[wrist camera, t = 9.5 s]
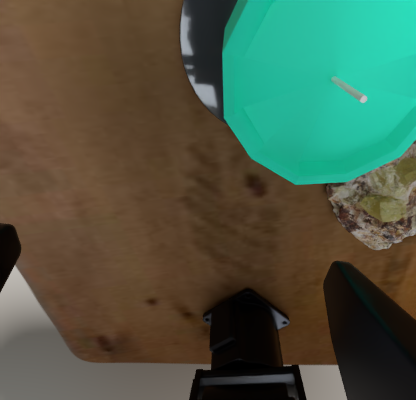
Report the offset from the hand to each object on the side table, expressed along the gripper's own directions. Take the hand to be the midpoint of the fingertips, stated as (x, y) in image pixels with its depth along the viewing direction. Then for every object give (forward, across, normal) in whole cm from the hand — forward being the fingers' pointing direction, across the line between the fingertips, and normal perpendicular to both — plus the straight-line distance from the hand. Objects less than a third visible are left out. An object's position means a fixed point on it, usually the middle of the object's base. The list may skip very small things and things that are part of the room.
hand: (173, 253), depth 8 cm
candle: (+12, -4, -5) cm, 14 cm away
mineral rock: (+13, -13, +2) cm, 18 cm away
